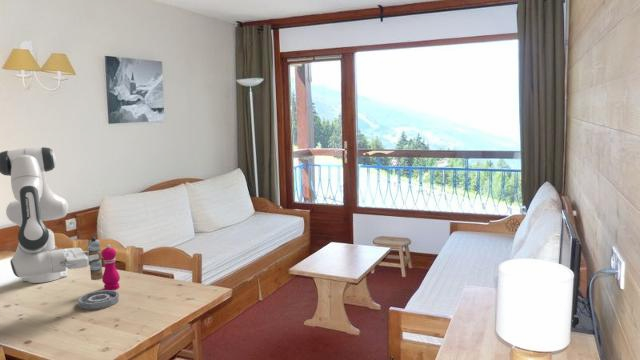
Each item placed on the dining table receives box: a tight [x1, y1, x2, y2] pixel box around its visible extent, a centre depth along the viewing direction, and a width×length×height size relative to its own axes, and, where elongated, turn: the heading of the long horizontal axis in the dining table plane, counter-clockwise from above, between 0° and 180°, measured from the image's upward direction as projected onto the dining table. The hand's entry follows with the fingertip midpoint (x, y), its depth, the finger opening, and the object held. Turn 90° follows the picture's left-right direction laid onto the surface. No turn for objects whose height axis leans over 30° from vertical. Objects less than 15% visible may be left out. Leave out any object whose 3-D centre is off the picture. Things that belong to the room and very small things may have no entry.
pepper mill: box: [101, 244, 121, 291], centre depth 225 cm, size 7×7×20 cm
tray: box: [77, 289, 120, 311], centre depth 209 cm, size 15×15×3 cm
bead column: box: [87, 236, 104, 281], centre depth 207 cm, size 4×4×17 cm
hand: (97, 254), depth 207 cm, fingers closed on bead column, 4 cm apart
